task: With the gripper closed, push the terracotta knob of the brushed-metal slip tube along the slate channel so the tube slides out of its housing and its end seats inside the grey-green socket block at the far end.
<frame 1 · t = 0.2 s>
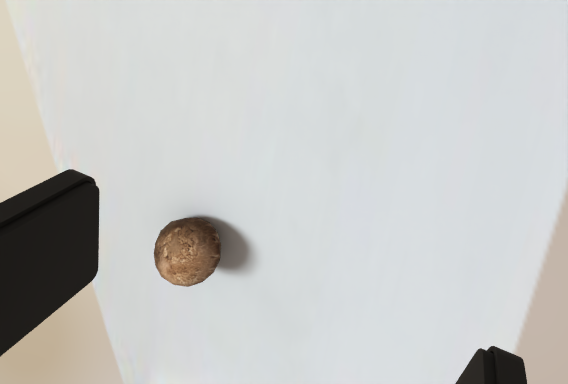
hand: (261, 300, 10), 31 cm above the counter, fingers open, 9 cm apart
brown rounded lump: (201, 237, 53), on the counter
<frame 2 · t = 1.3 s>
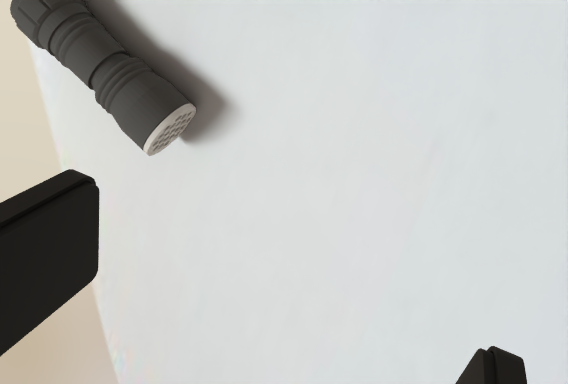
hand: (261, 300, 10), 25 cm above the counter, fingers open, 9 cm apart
flashlight: (129, 61, 38), on the counter
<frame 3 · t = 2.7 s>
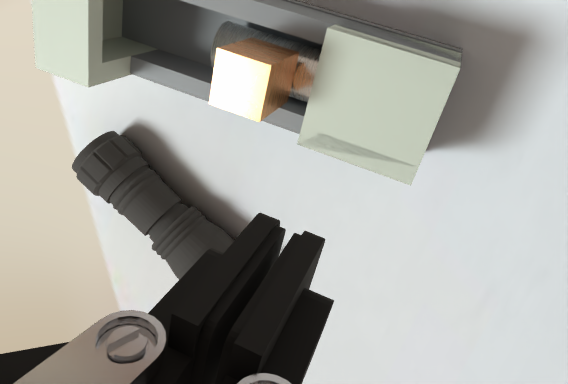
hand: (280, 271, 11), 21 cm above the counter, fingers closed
sleeve: (268, 49, 31), on the counter
tube: (314, 87, 26), point 5 cm above the counter, slide at 0.0 cm
flashlight: (180, 200, 40), on the counter
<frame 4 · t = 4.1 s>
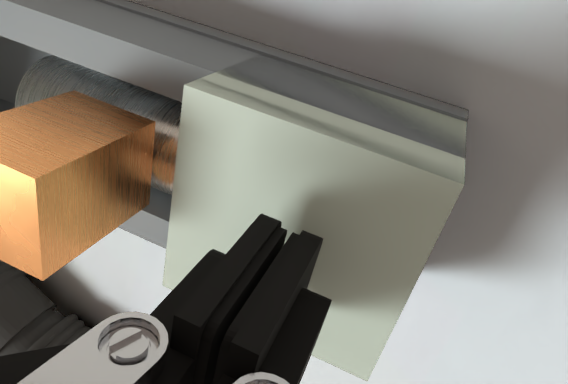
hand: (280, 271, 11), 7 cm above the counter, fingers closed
sleeve: (147, 96, 19), on the counter
tube: (183, 189, 13), point 5 cm above the counter, slide at 0.0 cm
flashlight: (60, 298, 28), on the counter
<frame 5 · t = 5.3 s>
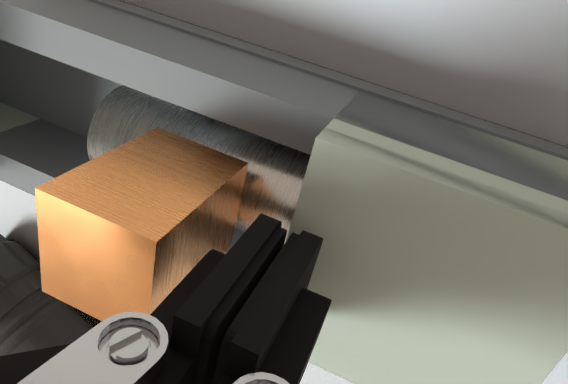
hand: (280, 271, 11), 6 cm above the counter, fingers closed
sleeve: (219, 126, 18), on the counter
tube: (278, 235, 13), point 5 cm above the counter, slide at 0.4 cm, touching gripper
flashlight: (102, 326, 27), on the counter
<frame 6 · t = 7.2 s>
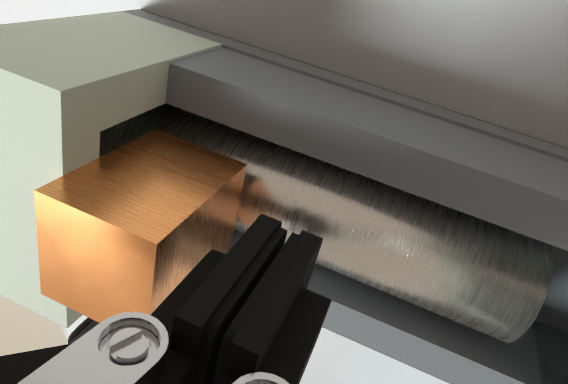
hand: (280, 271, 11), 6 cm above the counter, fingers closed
sleeve: (415, 201, 16), on the counter
tube: (277, 236, 13), point 5 cm above the counter, slide at 8.5 cm, touching gripper, sleeve
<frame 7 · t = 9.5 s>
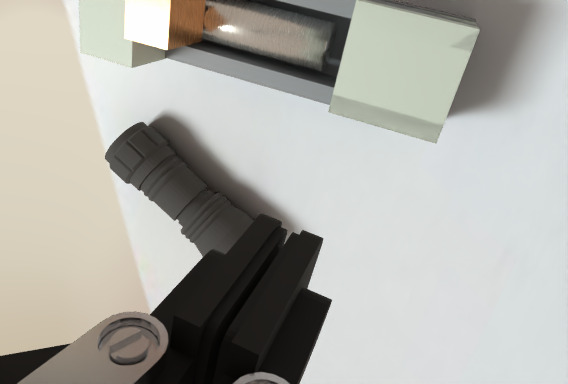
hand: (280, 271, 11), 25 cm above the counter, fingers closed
sleeve: (293, 30, 33), on the counter
tube: (219, 25, 29), point 5 cm above the counter, slide at 8.5 cm
flashlight: (204, 188, 42), on the counter
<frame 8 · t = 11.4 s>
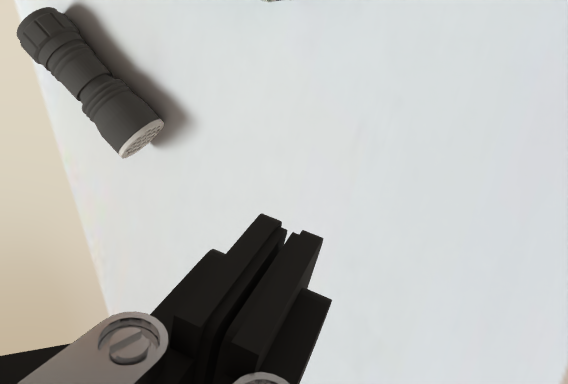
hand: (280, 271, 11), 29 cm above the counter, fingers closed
flashlight: (112, 78, 47), on the counter
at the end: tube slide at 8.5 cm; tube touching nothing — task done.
